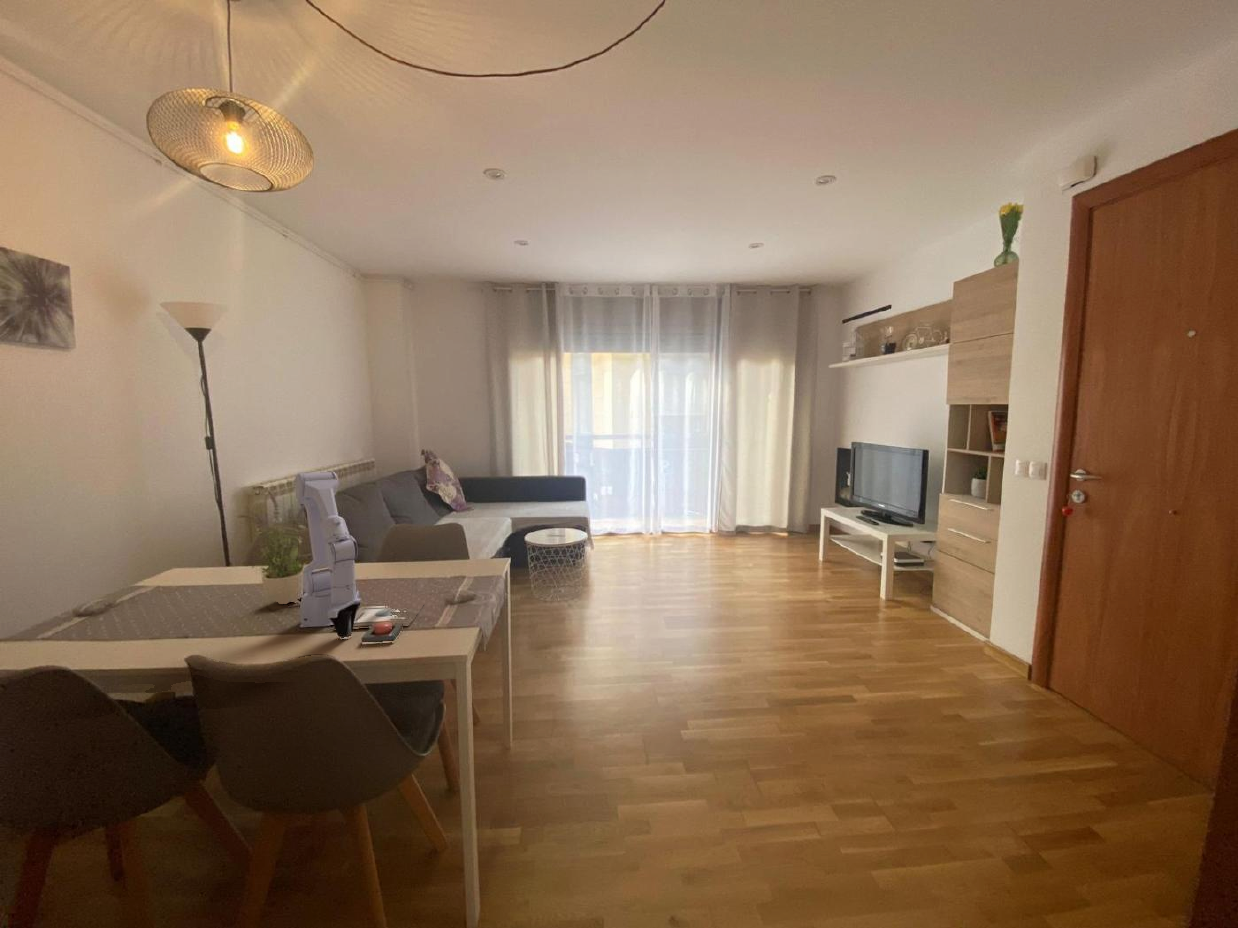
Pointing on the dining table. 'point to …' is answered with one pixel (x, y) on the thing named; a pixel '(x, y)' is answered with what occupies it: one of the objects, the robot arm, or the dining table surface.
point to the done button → (383, 628)
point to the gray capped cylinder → (348, 629)
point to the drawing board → (373, 615)
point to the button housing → (371, 637)
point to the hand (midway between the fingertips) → (345, 632)
